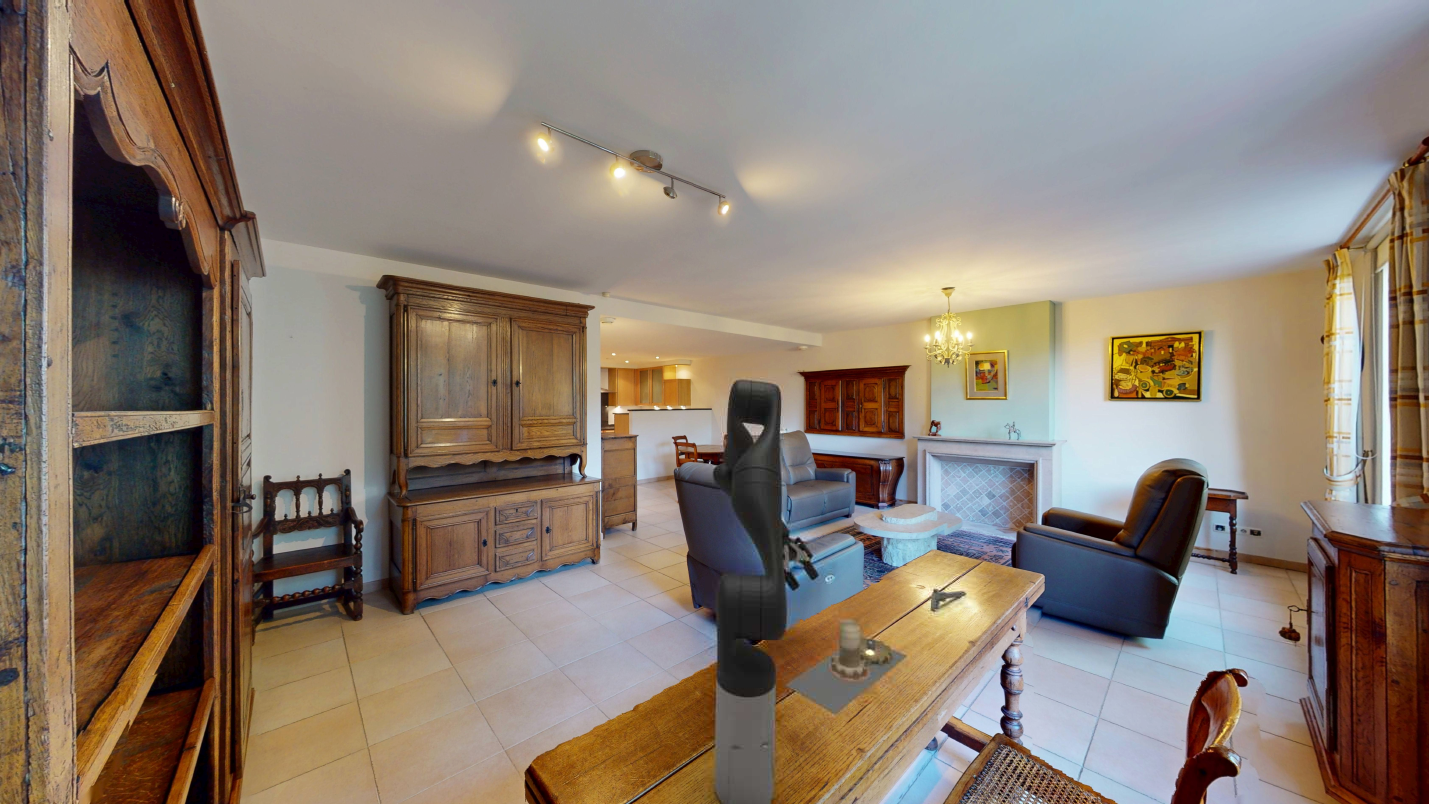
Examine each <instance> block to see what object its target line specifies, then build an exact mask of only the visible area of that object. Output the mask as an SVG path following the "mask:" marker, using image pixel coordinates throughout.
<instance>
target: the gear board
mask: <svg viewBox="0 0 1429 804" xmlns="http://www.w3.org/2000/svg"><path fill="white" fill-rule="evenodd" d="M860 637H863V636H861V635H860ZM864 638H865V639H867V638H866V637H864ZM891 651H892V660H891V659H890V663H889V664H887V663H883V664H882V666H879V665H878V664H871V665H868V664H867V676H866V677H865V676H861V677H859V680H854V678H847V677H845V678H841V677H840V674H838V673H837V672H836V671H835V672H833V671H832V670H831V657H832V656H833V655H834V656H837V655H839V649H838V650H836V651H835V652H833V653H832V654H830V655H829V656H827V657H826V658H824V659H823V660H821V661H820V662H818V663H817V664H815V665H814V666H812V667H810V668H809V669H807V670H806V671H804V672H803V673H801V674H800V675H798V676H797V677H795V678H793V679H792V680H790V681H789V682H787V683H785V686H786V687H787V688H789V689H790V690H792V691H794V692H796V693H798V694H800V695H801V696H802V697H805V698H806V699H808V700H810V701H812V702H813V703H815V704H817V705H818V706H820V707H821V708H824V709H825V710H827V711H828V712H830V713H832V714H834V715H837V714H838V713H839V712H841V711H842V710H843V709H844V708H846V706H847V707H848V705H849V704H850V703H852V702H853V701H854V700H855V699H857V698H858V697H859V696H861V694H863V693H864V692H865V691H867V689H869V688H870V687H871V686H872V685H874V684H875V683H876V682H877V681H879V680H880V679H881V678H883V676H885V675H886V674H887V673H889V672H890V671H891V670H892V669H893V668H895V667H896V666H897V665H898V664H899V663H901V662H902V661H903V660H905V658H907V657H908V655H906V654H903V653H902V652H899V651H897V650H895V649H892V648H891Z"/></svg>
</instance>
